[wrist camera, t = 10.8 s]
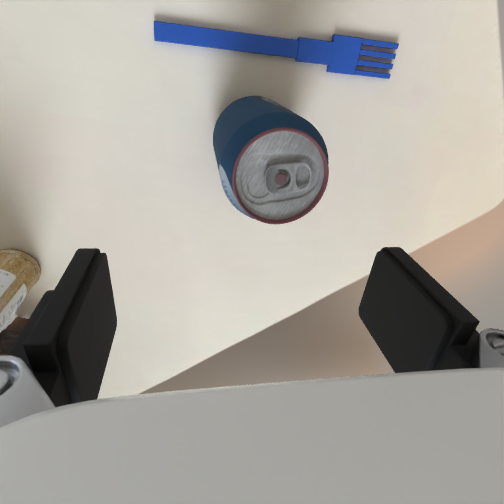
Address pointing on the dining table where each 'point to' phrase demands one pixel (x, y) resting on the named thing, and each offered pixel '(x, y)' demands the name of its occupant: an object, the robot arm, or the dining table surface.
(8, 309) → the sprinkles bottle
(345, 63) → the blue fork
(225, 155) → the soda can
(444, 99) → the dining table surface
